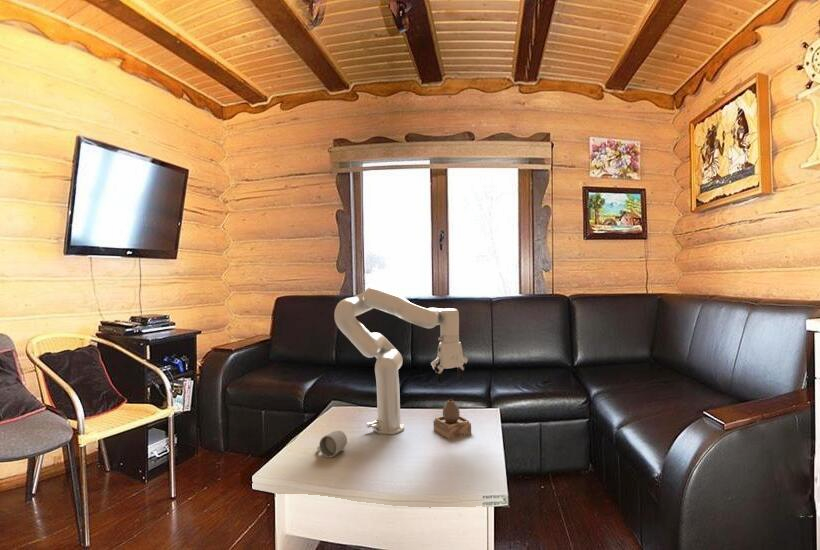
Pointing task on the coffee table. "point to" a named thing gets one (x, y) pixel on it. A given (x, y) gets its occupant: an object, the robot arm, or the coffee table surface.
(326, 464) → the coffee table surface
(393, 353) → the robot arm
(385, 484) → the coffee table surface
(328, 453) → the ceramic mug
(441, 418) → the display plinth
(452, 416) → the vase
